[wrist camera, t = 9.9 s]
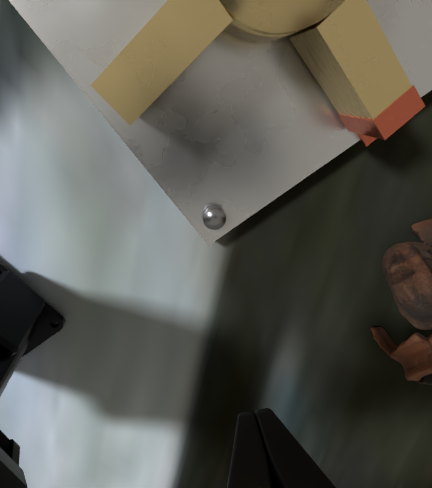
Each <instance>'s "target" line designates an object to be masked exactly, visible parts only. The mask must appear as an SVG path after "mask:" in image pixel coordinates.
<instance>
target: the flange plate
mask: <svg viewBox="0 0 432 488" xmlns="http://www.w3.org/2000/svg"><path fill="white" fill-rule="evenodd" d="M9 1H10V2H11V4H12V5H13V6H14V7H15V8H16V10H17V11H18V12H19V13H20V15H21V16H22V17H23V18H24V20H25V21H26V22H27V23H28V24H29V26H30V27H31V28H32V29H33V31H34V32H35V33H36V34H37V35H38V37H39V38H40V39H41V40H42V42H43V43H44V44H45V45H46V47H47V48H48V49H49V50H50V51H51V53H52V54H53V55H54V56H55V58H56V59H57V60H58V61H59V63H60V64H61V65H62V66H63V67H64V69H65V70H66V71H67V72H68V74H69V75H70V76H71V77H72V78H73V80H74V81H75V82H76V83H77V85H78V86H79V87H80V88H81V90H82V91H83V92H84V93H85V94H86V96H87V97H88V98H89V99H90V101H91V102H92V103H93V104H94V106H95V107H96V108H97V109H98V110H99V112H100V113H101V114H102V115H103V117H104V118H105V119H106V120H107V121H108V123H109V124H110V125H111V126H112V128H113V129H114V130H115V131H116V133H117V134H118V135H119V136H120V137H121V139H122V140H123V141H124V142H125V144H126V145H127V146H128V147H129V149H130V150H131V151H132V152H133V153H134V155H135V156H136V157H137V158H138V160H139V161H140V162H141V163H142V164H143V166H144V167H145V168H146V169H147V171H148V172H149V173H150V174H151V176H152V177H153V178H154V179H155V180H156V182H157V183H158V184H159V185H160V187H161V188H162V189H163V190H164V192H165V193H166V194H167V195H168V196H169V198H170V199H171V200H172V201H173V203H174V204H175V205H176V206H177V207H178V209H179V210H180V211H181V212H182V214H183V215H184V216H185V217H186V219H187V220H188V221H189V222H190V223H191V225H192V226H193V227H194V228H195V230H196V231H197V232H198V233H199V235H200V236H201V237H202V238H203V239H204V241H205V242H206V243H207V244H208V246H209V245H210V244H212V243H213V242H214V241H216V240H217V239H219V238H220V237H222V236H223V235H224V234H226V233H227V232H229V231H230V230H232V229H233V228H234V227H236V226H237V225H239V224H240V223H242V222H243V221H245V220H246V219H247V218H249V217H250V216H252V215H253V214H255V213H256V212H257V211H259V210H260V209H262V208H263V207H265V206H266V205H267V204H269V203H270V202H272V201H273V200H275V199H276V198H277V197H279V196H280V195H282V194H283V193H285V192H286V191H288V190H289V189H290V188H292V187H293V186H295V185H296V184H298V183H299V182H300V181H302V180H303V179H305V178H306V177H308V176H309V175H310V174H312V173H313V172H315V171H316V170H318V169H319V168H321V167H322V166H323V165H325V164H326V163H328V162H329V161H331V160H332V159H333V158H335V157H336V156H338V155H339V154H341V153H342V152H343V151H345V150H346V149H348V148H349V147H351V146H352V145H353V144H355V143H356V142H358V141H359V140H361V141H362V143H363V144H364V146H366V147H367V146H368V145H369V144H371V143H372V142H373V141H374V140H376V139H377V138H374V137H370V136H366V135H362V134H358V133H354V132H350V131H348V130H347V128H346V127H345V125H344V124H343V122H342V121H341V119H340V118H339V116H338V114H339V113H338V112H337V110H336V109H335V107H334V106H333V104H332V103H331V101H330V100H329V98H328V97H327V95H326V94H325V92H324V91H323V89H322V88H321V86H320V85H319V83H318V82H317V80H316V79H315V77H314V75H313V74H312V72H311V71H310V69H309V68H308V66H307V65H306V63H305V62H304V60H303V59H302V57H301V56H300V54H299V53H298V51H297V50H296V48H295V47H294V45H293V44H292V42H291V41H290V39H289V38H290V37H291V36H292V35H293V34H294V33H293V34H291V35H288V36H286V37H284V38H281V39H278V40H275V41H270V42H249V41H244V40H241V39H238V38H236V37H234V36H232V35H230V34H228V33H227V32H225V31H224V30H223V31H222V32H221V33H220V34H219V35H218V36H217V37H216V38H215V39H214V40H213V41H212V42H211V43H210V44H209V45H208V46H207V47H206V48H205V49H204V50H203V51H202V52H201V53H200V55H199V56H198V57H197V58H196V59H195V60H194V61H193V62H192V63H191V64H190V65H189V66H188V67H187V68H186V69H185V70H184V71H183V72H182V73H181V74H180V75H179V76H178V77H177V78H176V79H175V80H174V81H173V82H172V83H171V84H170V85H169V86H168V88H167V89H166V90H165V91H164V92H163V93H162V94H161V95H160V96H159V97H158V98H157V99H156V100H155V101H154V102H153V103H152V104H151V105H150V106H149V107H148V108H147V109H146V110H145V111H144V112H143V113H142V114H141V115H140V116H139V117H138V118H137V119H136V120H135V121H134V123H133V124H132V125H131V126H130V125H129V124H128V123H127V122H126V121H125V120H124V119H123V118H122V117H121V116H120V115H119V114H118V113H117V112H116V111H115V110H114V109H113V108H112V107H111V106H110V105H109V104H108V103H107V102H106V101H105V100H104V99H103V98H102V97H101V96H100V95H99V93H98V92H97V91H96V90H95V89H94V88H93V87H92V86H91V84H92V83H93V82H94V81H95V80H96V79H97V78H98V76H99V75H100V74H101V73H102V72H103V71H104V70H105V69H106V68H107V67H108V65H109V64H110V63H111V62H112V61H113V60H114V59H115V58H116V57H117V56H118V54H119V53H120V52H121V51H122V50H123V49H124V48H125V47H126V46H127V45H128V43H129V42H130V41H131V40H132V39H133V38H134V37H135V36H136V35H137V34H138V32H139V31H140V30H141V29H142V28H143V27H144V26H145V25H146V24H147V23H148V21H149V20H150V19H151V18H152V17H153V16H154V15H155V14H156V13H157V12H158V10H159V9H160V8H161V7H162V6H163V5H164V4H165V3H166V2H167V1H168V0H9ZM367 2H368V4H369V6H370V8H371V10H372V12H373V13H374V15H375V17H376V19H377V21H378V23H379V25H380V27H381V29H382V30H383V32H384V34H385V36H386V38H387V40H388V42H389V44H390V45H391V47H392V49H393V51H394V53H395V55H396V57H397V59H398V61H399V62H400V64H401V66H402V68H403V70H404V72H405V74H406V76H407V77H408V79H409V81H410V83H411V85H414V86H415V88H416V90H417V92H418V94H419V95H420V97H422V96H424V95H425V94H427V93H428V92H429V91H431V90H432V0H367ZM295 33H296V32H295Z"/></svg>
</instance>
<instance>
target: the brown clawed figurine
mask: <svg viewBox="0 0 432 488" xmlns="http://www.w3.org/2000/svg"><path fill="white" fill-rule="evenodd" d="M411 230H412V231H413V233H415V234H416V235H417V236H418V238H419V240H420V242H404V243H398V244H394V245H393V246H392V247H391V248H389V249H388V250H386V252H385V254H384V257H383V260H382V264H381V267H382V269H383V274H384V276H385V278H386V280H387V282H388V285H389V287H390V289H391V291H392V295H393V298H394V300H395V302H396V304H397V306H398V311H399V312H400V314H401V315H402V316H404V317H405V318H406V319H407V320H408V321H409V322H410V323H411V324H412V325H413V326H414V327H416V328H418V329H420V330H430V329H432V218H431V219H427V220H423V221H421V222H418V223H415V224H413V225H412V226H411ZM371 331H372V333H373V337H374V339H375V340H376V341H377V342H378V344H379V346H380V348H382V349H383V350H384V351H385V352H386V353H387V354H388V355H389V356H390V357H391V358H393V359H394V360H396V361H398V362H399V363H401V364H402V366H403V369H404V371H405V378H406V379H407V380H409V381H411V380H414V381H417V383H419V384H429V385H432V334H431V335H430V336H429V337H428V338H426V337H425V336H423V335H421V334H420V333H414V334H413V335H411V336H410V337H409V338H408V339H407V340H406V341H403V342H402V343H401V344H400V345H396V344H395V343H394V342H393V341H392V340H391V338H390V337H389V335H388V334H387V333H386V331H385V330H384V329H383V328H382V327H372V328H371Z"/></svg>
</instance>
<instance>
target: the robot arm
mask: <svg viewBox="0 0 432 488" xmlns="http://www.w3.org/2000/svg"><path fill="white" fill-rule="evenodd" d="M52 321H56V322H58V324H55V323H53V322H52ZM64 323H65V319H64V317H63V316H62V315H61V314H60V313H58V312H57V311H56V310H55V309H54V308H52V307H51V306H50V305H49V304H48V303H46V302H45V301H44V299H42V298H41V297H40V296H39V295H38V294H36V293H35V292H34V291H33V290H32V289H30V288H29V287H28V286H27V285H26V284H24V283H23V282H22V281H21V280H20V279H18V278H17V277H16V276H15V275H14V274H12V273H11V272H9V271H8V270H7V269H5V268H4V267H3V266H2V265H1V264H0V396H1V394H2V392H3V391H4V389H5V387H6V385H7V383H8V381H9V379H10V378H11V376H12V374H13V372H14V370H15V368H16V367H17V365H18V363H19V361H20V359H21V357H23V356H24V355H26V354H27V353H28V352H30V351H31V350H33V349H34V348H36V347H37V346H38V345H40V344H41V343H43V342H44V341H45V340H47V339H48V338H50V337H51V336H52V335H54V334H55V333H57V332H58V331H60V330H61V329H62V328H63V325H64ZM19 454H20V446H19V445H18V444H17V443H16V442H15V441H14V440H13V439H10V440H9V439H8V438H7V437H6V436H5V434H4V433H3V432H2V431H1V430H0V488H27V484H26V480H25V476H24V472H23V470H22V469H21V468H20V467H19ZM227 488H335V486H334V485H333V484H332V483H331V481H330V480H329V479H328V478H327V477H326V475H325V474H324V473H323V472H322V471H321V469H320V468H319V467H318V466H317V464H316V463H315V462H314V461H313V460H312V458H311V457H310V456H309V455H308V454H307V452H306V451H305V450H304V449H303V448H302V446H301V445H300V444H299V443H298V441H297V440H296V439H295V438H294V437H293V435H292V434H291V433H290V432H289V431H288V429H287V428H286V427H285V426H284V424H283V423H282V422H281V421H280V420H279V418H278V417H277V416H276V415H275V414H274V412H273V411H272V410H271V409H269V408H266V409H260V410H256V411H255V413H254V412H252V411H249V412H243V413H239V415H238V418H237V425H236V432H235V438H234V445H233V452H232V459H231V465H230V472H229V479H228V485H227Z"/></svg>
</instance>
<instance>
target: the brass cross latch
mask: <svg viewBox="0 0 432 488" xmlns="http://www.w3.org/2000/svg"><path fill="white" fill-rule="evenodd" d="M223 30H224V31H225V32H227V33H228V34H230V35H232V36H234V37H236V38H238V39H241V40H244V41H249V42H270V41H275V40H278V39H281V38H284V37H286V36H288V35H291V34H293V33H294V34H293V35H292V36H291V37H290V38H289V39H290V41H291V42H292V44H293V45H294V47H295V48H296V50H297V51H298V53H299V54H300V56H301V57H302V59H303V60H304V62H305V63H306V65H307V66H308V68H309V69H310V71H311V72H312V74H313V75H314V77H315V79H316V80H317V82H318V83H319V85H320V86H321V88H322V89H323V91H324V92H325V94H326V95H327V97H328V98H329V100H330V101H331V103H332V104H333V106H334V107H335V109H336V110H337V112H338V113H339V114H338V116H339V118H340V119H341V121H342V122H343V124H344V125H345V127H346V128H347V130H348V131H350V132H354V133H358V134H362V135H366V136H370V137H374V138H378V139H382V140H386V139H387V138H388V137H389V136H391V135H392V134H393V133H394V132H395V131H396V130H398V129H399V128H400V127H401V126H402V125H404V124H405V123H406V122H407V121H408V120H410V119H411V118H412V117H413V116H414V115H415V114H417V113H418V112H419V111H420V110H421V109H423V108H424V107H425V105H424V103H423V101H422V99H421V97H420V95H419V94H418V92H417V90H416V88H415V86H414V85H411V83H410V81H409V79H408V77H407V76H406V74H405V72H404V70H403V68H402V66H401V64H400V62H399V61H398V59H397V57H396V55H395V53H394V51H393V49H392V47H391V45H390V44H389V42H388V40H387V38H386V36H385V34H384V32H383V30H382V29H381V27H380V25H379V23H378V21H377V19H376V17H375V15H374V13H373V12H372V10H371V8H370V6H369V4H368V2H367V0H168V1H167V2H166V3H165V4H164V5H163V6H162V7H161V8H160V9H159V10H158V12H157V13H156V14H155V15H154V16H153V17H152V18H151V19H150V20H149V21H148V23H147V24H146V25H145V26H144V27H143V28H142V29H141V30H140V31H139V32H138V34H137V35H136V36H135V37H134V38H133V39H132V40H131V41H130V42H129V43H128V45H127V46H126V47H125V48H124V49H123V50H122V51H121V52H120V53H119V54H118V56H117V57H116V58H115V59H114V60H113V61H112V62H111V63H110V64H109V65H108V67H107V68H106V69H105V70H104V71H103V72H102V73H101V74H100V75H99V76H98V78H97V79H96V80H95V81H94V82H93V83H92V84H91V86H92V87H93V88H94V89H95V90H96V91H97V92H98V93H99V95H100V96H101V97H102V98H103V99H104V100H105V101H106V102H107V103H108V104H109V105H110V106H111V107H112V108H113V109H114V110H115V111H116V112H117V113H118V114H119V115H120V116H121V117H122V118H123V119H124V120H125V121H126V122H127V123H128V124H129V125H130V126H131V125H132V124H133V123H134V121H135V120H136V119H137V118H138V117H139V116H140V115H141V114H142V113H143V112H144V111H145V110H146V109H147V108H148V107H149V106H150V105H151V104H152V103H153V102H154V101H155V100H156V99H157V98H158V97H159V96H160V95H161V94H162V93H163V92H164V91H165V90H166V89H167V88H168V86H169V85H170V84H171V83H172V82H173V81H174V80H175V79H176V78H177V77H178V76H179V75H180V74H181V73H182V72H183V71H184V70H185V69H186V68H187V67H188V66H189V65H190V64H191V63H192V62H193V61H194V60H195V59H196V58H197V57H198V56H199V55H200V53H201V52H202V51H203V50H204V49H205V48H206V47H207V46H208V45H209V44H210V43H211V42H212V41H213V40H214V39H215V38H216V37H217V36H218V35H219V34H220V33H221V32H222V31H223ZM295 32H296V33H295Z"/></svg>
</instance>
